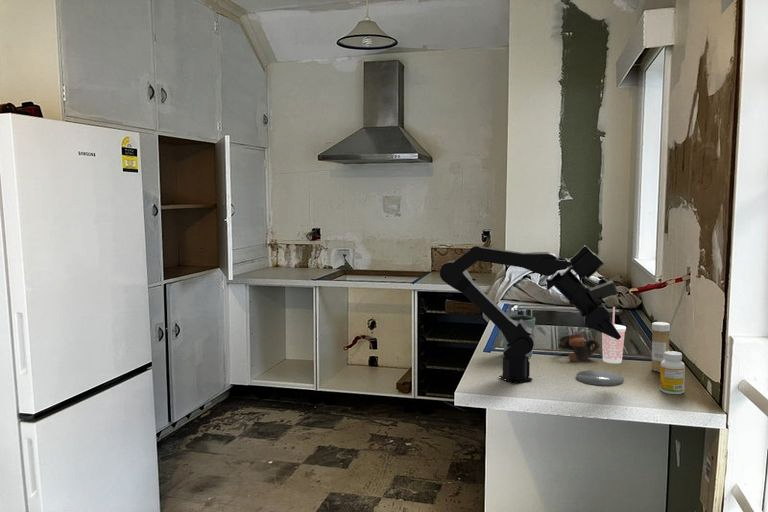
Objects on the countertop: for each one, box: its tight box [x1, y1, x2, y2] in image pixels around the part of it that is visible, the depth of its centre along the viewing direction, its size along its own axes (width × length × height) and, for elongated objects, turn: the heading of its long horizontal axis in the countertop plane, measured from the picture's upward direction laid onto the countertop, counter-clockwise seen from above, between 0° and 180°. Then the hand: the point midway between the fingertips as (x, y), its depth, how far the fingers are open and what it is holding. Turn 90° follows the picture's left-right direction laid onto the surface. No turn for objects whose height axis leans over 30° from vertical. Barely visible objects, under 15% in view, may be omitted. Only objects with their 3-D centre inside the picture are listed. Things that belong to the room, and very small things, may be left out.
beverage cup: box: [601, 306, 627, 364], centre depth 153 cm, size 6×6×14 cm
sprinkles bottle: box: [651, 321, 671, 373], centre depth 166 cm, size 5×5×13 cm
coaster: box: [575, 369, 625, 387], centre depth 160 cm, size 12×12×1 cm
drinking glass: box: [502, 314, 536, 357], centre depth 185 cm, size 10×10×12 cm
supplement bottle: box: [659, 350, 686, 395], centre depth 148 cm, size 5×5×10 cm
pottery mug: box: [557, 333, 601, 362], centre depth 182 cm, size 12×10×8 cm
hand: (618, 335), depth 152 cm, fingers closed on beverage cup, 6 cm apart
